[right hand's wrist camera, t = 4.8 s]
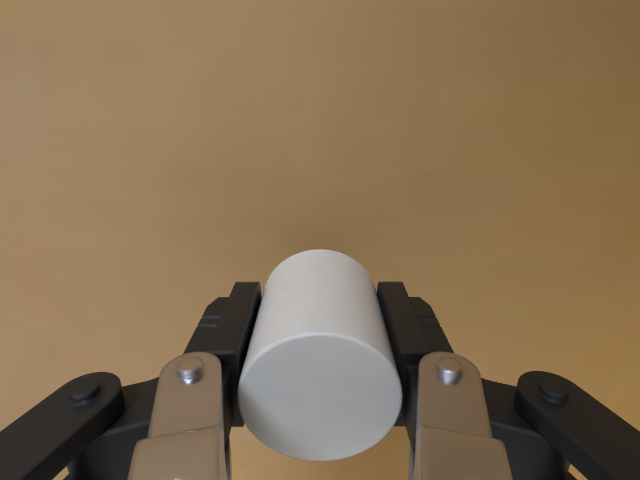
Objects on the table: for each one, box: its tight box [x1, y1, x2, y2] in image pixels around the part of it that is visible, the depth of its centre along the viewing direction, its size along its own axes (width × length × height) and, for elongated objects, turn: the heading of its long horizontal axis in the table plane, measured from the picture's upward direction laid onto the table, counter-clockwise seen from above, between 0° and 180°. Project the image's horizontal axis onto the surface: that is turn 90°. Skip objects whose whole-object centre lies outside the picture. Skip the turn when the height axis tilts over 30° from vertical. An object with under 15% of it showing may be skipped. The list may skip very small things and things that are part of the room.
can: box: [237, 249, 403, 461], centre depth 11 cm, size 4×4×4 cm
